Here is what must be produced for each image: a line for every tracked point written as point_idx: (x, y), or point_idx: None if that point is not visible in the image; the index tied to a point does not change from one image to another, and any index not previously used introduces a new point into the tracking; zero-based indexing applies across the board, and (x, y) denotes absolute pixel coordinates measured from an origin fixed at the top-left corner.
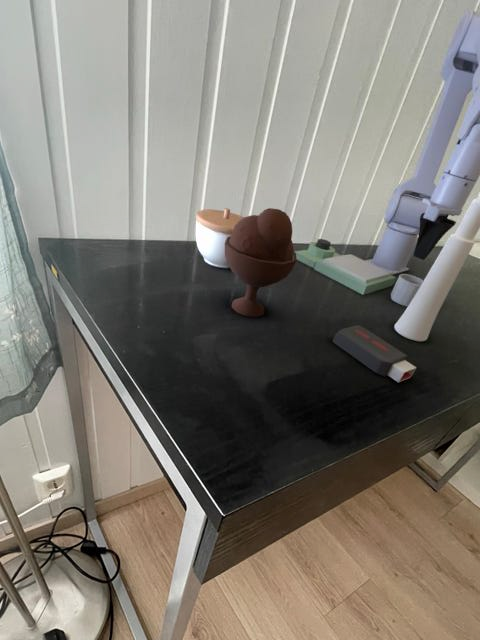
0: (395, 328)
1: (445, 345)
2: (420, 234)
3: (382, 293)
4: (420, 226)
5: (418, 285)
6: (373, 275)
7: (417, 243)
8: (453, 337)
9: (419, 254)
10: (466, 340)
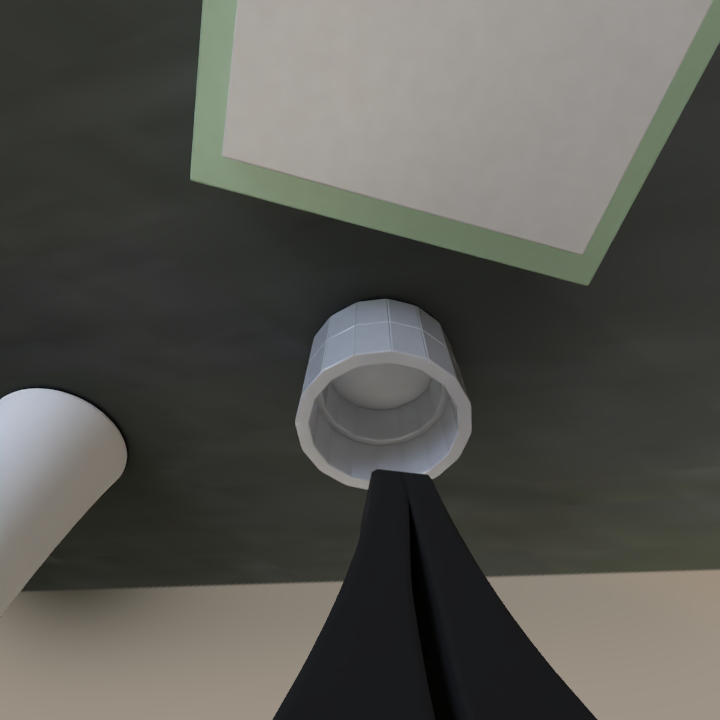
0: (2, 398)
1: (121, 532)
2: (324, 625)
3: (377, 253)
4: (287, 699)
5: (313, 461)
6: (382, 167)
7: (360, 542)
8: (220, 544)
9: (364, 519)
10: (247, 572)
